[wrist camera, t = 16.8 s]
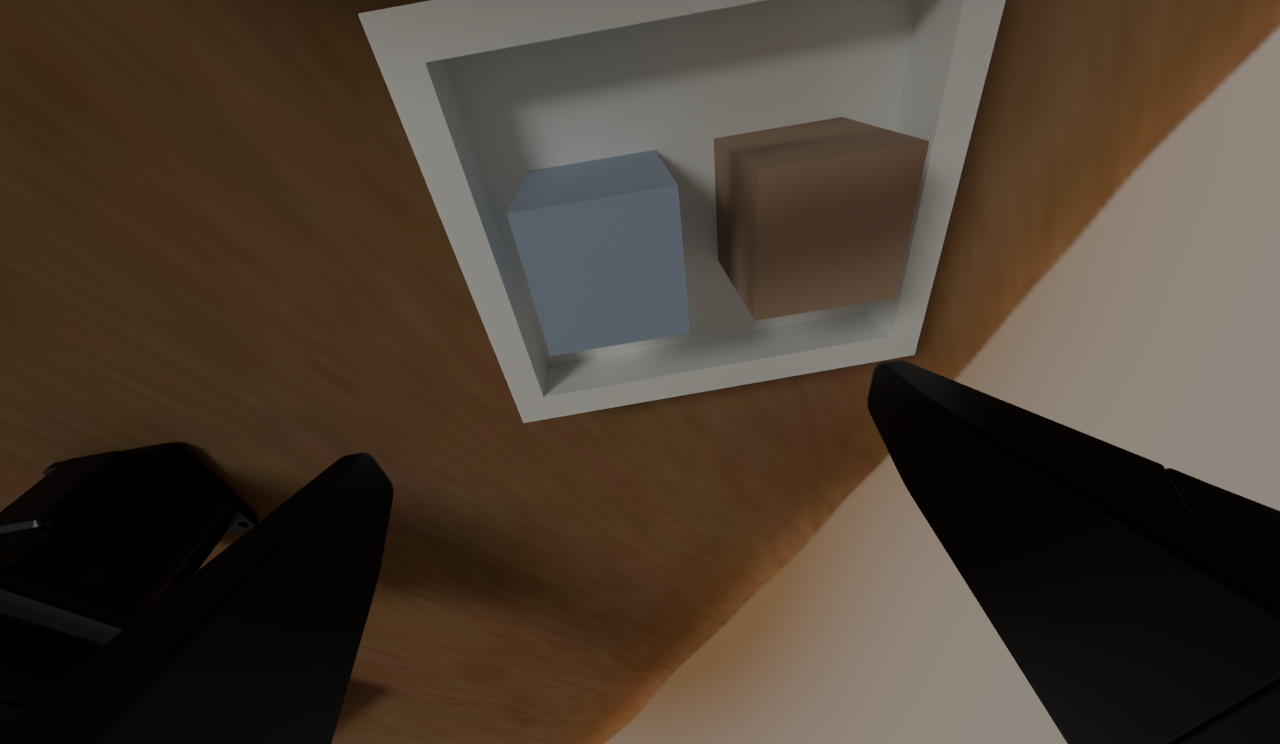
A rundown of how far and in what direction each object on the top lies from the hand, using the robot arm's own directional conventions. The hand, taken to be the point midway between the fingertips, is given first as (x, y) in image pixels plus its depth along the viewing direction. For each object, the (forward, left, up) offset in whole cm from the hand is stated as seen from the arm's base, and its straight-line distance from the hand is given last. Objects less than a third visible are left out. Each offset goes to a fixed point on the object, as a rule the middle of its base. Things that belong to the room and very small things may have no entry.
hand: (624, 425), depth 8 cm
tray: (0, -3, -12) cm, 12 cm away
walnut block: (0, -6, -11) cm, 13 cm away
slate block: (0, 0, -11) cm, 11 cm away
